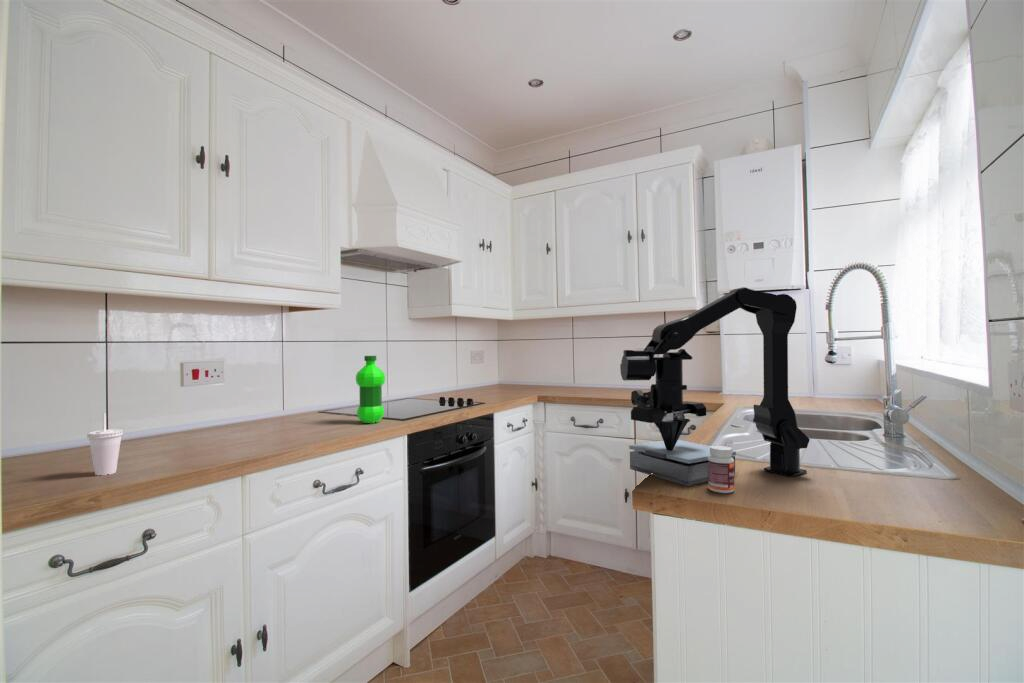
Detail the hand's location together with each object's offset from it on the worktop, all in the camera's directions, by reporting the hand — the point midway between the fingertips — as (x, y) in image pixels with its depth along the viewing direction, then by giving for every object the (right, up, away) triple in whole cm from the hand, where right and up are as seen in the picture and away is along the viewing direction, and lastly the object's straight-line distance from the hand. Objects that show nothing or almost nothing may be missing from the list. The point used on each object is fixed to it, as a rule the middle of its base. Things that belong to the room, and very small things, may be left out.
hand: (669, 450), depth 106 cm
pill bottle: (+7, -6, -11) cm, 14 cm away
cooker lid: (+3, -1, +2) cm, 4 cm away
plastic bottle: (-88, -6, +72) cm, 114 cm away
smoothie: (-129, -6, +4) cm, 129 cm away
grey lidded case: (+3, -5, +2) cm, 7 cm away
